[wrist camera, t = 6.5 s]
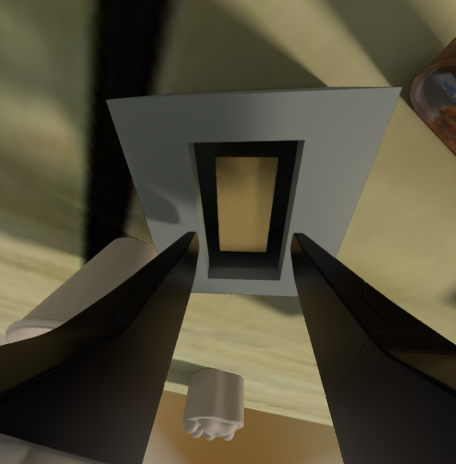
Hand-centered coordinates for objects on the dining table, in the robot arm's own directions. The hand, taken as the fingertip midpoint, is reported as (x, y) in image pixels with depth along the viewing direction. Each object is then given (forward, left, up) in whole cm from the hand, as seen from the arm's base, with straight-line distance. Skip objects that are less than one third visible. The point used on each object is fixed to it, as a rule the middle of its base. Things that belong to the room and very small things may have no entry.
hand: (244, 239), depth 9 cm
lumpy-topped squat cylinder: (-46, +6, -8) cm, 47 cm away
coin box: (0, 0, -8) cm, 8 cm away
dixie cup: (-9, +12, -8) cm, 17 cm away
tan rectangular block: (0, 0, -8) cm, 8 cm away
